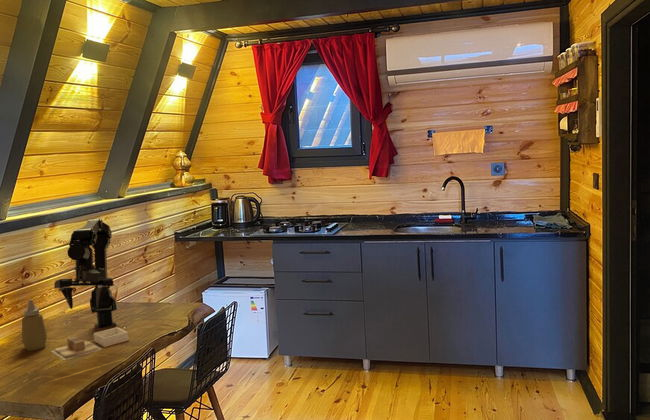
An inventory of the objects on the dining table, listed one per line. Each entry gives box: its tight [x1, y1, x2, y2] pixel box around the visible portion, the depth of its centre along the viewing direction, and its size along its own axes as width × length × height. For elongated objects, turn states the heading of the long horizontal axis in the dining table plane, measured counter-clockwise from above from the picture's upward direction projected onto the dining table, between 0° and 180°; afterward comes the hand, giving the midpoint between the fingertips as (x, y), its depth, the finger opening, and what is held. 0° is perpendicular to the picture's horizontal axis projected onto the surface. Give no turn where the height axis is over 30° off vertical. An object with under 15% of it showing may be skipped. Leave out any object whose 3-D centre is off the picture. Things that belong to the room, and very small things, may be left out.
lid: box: [54, 335, 99, 359], centre depth 202 cm, size 11×11×4 cm
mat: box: [51, 340, 103, 361], centre depth 203 cm, size 13×13×1 cm
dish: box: [93, 326, 129, 348], centre depth 211 cm, size 9×9×4 cm
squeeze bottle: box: [21, 299, 48, 351], centre depth 206 cm, size 8×8×18 cm
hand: (84, 308), depth 202 cm, fingers open, 9 cm apart
